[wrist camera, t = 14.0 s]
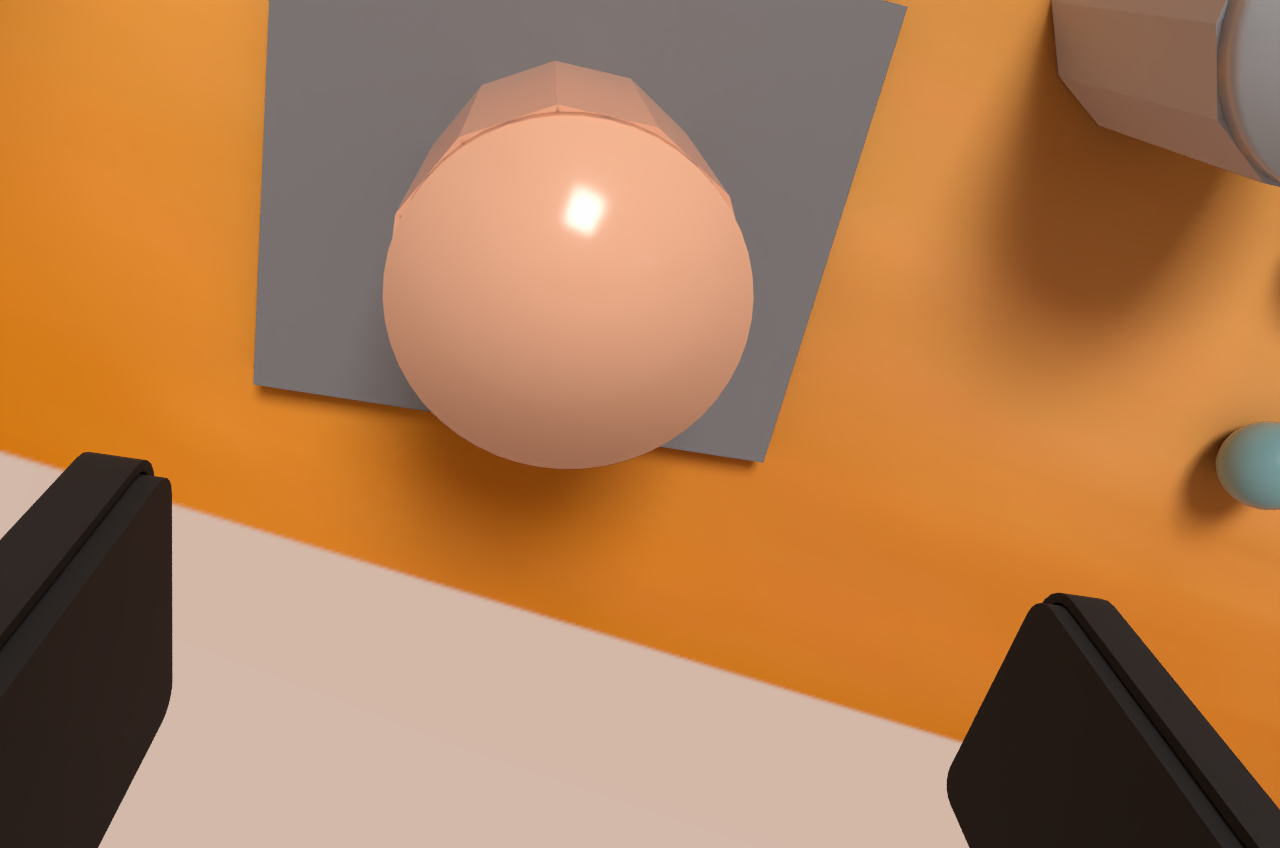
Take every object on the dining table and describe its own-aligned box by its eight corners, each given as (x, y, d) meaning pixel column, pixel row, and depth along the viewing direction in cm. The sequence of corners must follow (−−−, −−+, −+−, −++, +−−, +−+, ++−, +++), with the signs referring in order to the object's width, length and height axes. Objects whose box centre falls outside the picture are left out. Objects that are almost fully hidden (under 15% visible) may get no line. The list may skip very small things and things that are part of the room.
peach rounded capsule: (447, 35, 24) (406, 77, 17) (730, 101, 26) (800, 166, 18) (411, 309, 27) (364, 439, 20) (663, 355, 29) (701, 492, 22)
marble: (1222, 402, 33) (1260, 421, 30) (1310, 427, 33) (1358, 448, 30) (1187, 480, 34) (1222, 506, 31) (1273, 505, 34) (1316, 533, 31)
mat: (283, -149, 23) (275, -150, 22) (897, 4, 26) (907, 7, 25) (260, 373, 29) (253, 384, 28) (758, 450, 32) (762, 462, 31)
